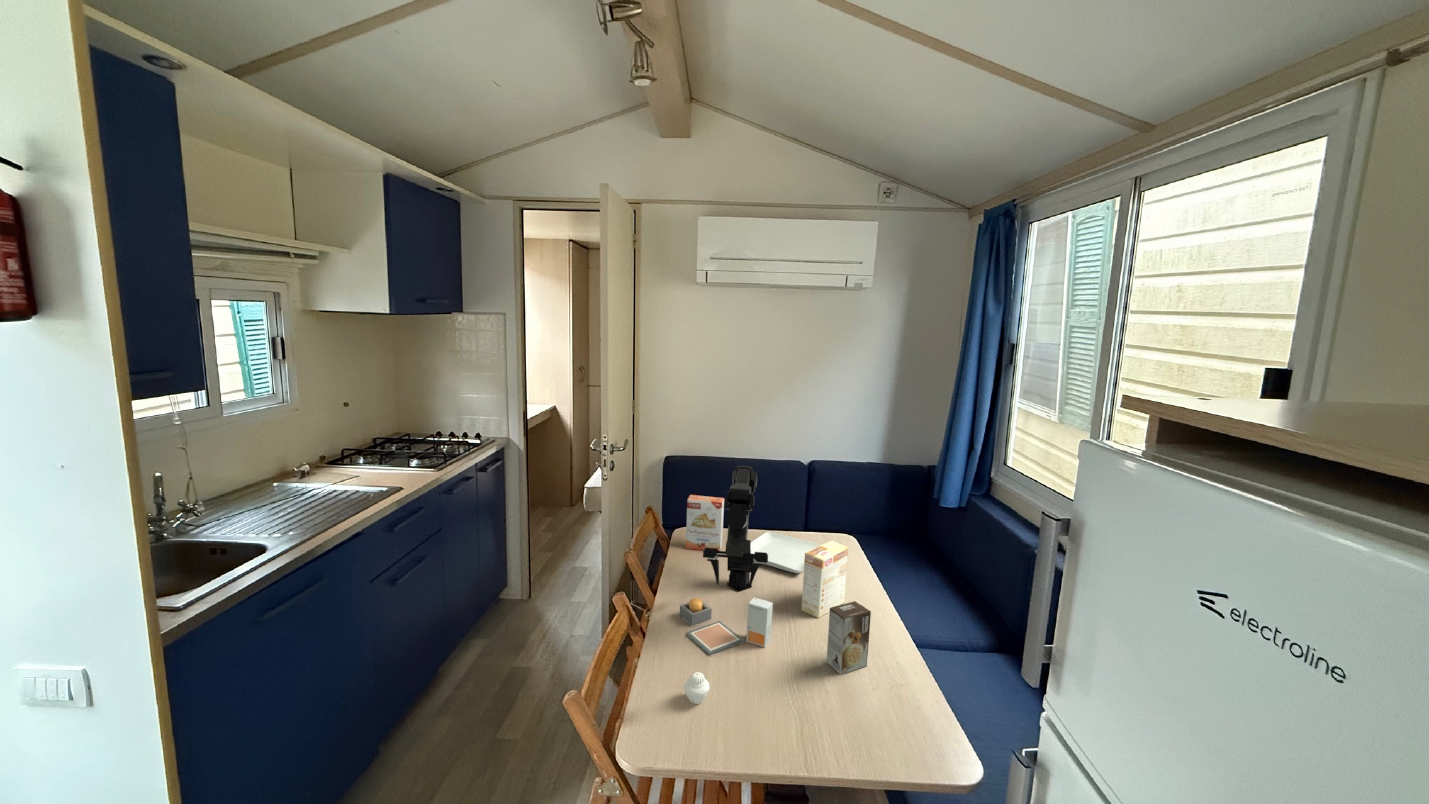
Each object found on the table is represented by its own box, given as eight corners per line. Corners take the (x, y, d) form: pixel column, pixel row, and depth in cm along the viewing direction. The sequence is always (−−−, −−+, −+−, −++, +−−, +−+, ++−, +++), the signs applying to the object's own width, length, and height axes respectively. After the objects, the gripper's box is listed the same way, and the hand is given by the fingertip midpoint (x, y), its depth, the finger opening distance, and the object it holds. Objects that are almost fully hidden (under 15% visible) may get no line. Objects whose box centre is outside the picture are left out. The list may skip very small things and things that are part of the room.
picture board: (719, 622, 169) (719, 620, 169) (744, 642, 159) (744, 639, 159) (686, 634, 162) (686, 632, 162) (709, 655, 153) (709, 653, 152)
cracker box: (685, 549, 220) (686, 498, 217) (688, 543, 226) (689, 493, 223) (720, 553, 218) (722, 502, 215) (722, 547, 224) (724, 497, 221)
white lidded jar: (695, 688, 139) (696, 662, 138) (714, 699, 135) (715, 673, 134) (678, 700, 134) (679, 674, 133) (697, 712, 131) (698, 685, 130)
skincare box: (745, 641, 160) (747, 603, 158) (751, 634, 163) (753, 596, 161) (765, 648, 157) (767, 608, 155) (771, 640, 161) (773, 602, 159)
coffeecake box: (827, 594, 189) (830, 539, 186) (845, 602, 184) (849, 546, 181) (800, 609, 178) (803, 552, 175) (818, 619, 173) (822, 559, 170)
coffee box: (851, 653, 156) (855, 600, 153) (867, 666, 150) (872, 611, 148) (825, 661, 152) (829, 607, 149) (840, 675, 146) (845, 618, 144)
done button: (697, 606, 174) (697, 597, 173) (704, 612, 171) (704, 602, 170) (686, 609, 171) (686, 600, 171) (693, 615, 168) (693, 606, 168)
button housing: (698, 609, 176) (698, 599, 176) (711, 619, 171) (711, 608, 170) (679, 615, 172) (679, 605, 172) (691, 626, 167) (692, 615, 166)
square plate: (828, 554, 222) (828, 545, 221) (800, 580, 199) (801, 570, 198) (767, 538, 236) (767, 529, 235) (734, 561, 213) (735, 551, 212)
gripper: (703, 527, 158) (698, 584, 154) (769, 532, 156) (766, 591, 152) (707, 528, 168) (702, 583, 164) (769, 533, 166) (766, 588, 162)
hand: (733, 586), depth 160 cm, fingers open, 9 cm apart
